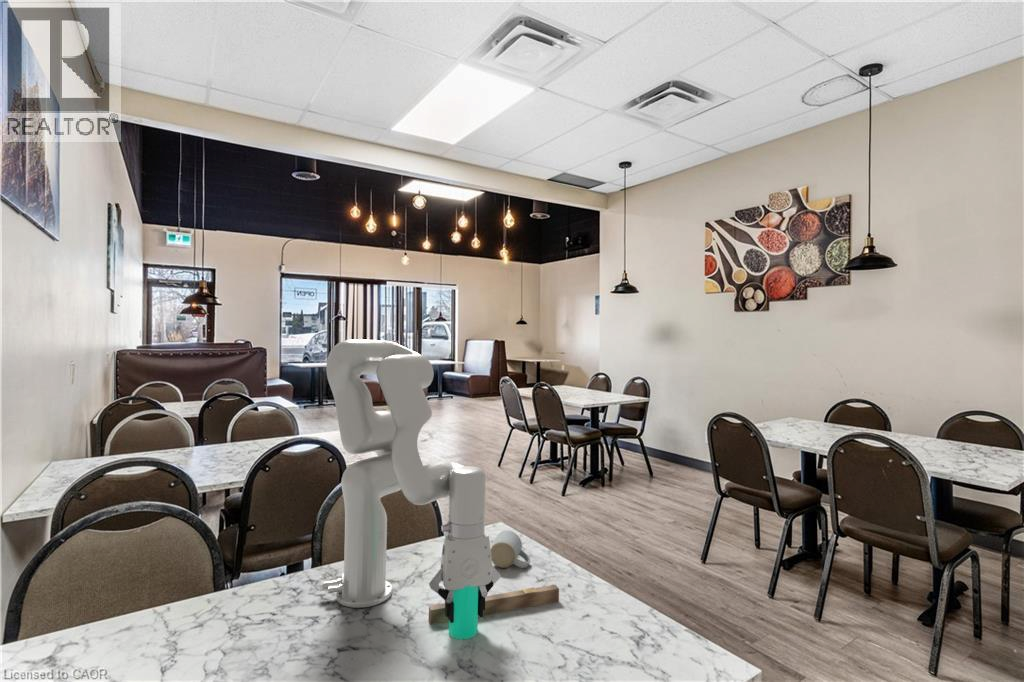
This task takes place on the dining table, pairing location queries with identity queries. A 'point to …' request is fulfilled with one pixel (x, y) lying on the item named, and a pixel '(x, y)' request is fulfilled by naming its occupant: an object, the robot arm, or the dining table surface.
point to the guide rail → (505, 602)
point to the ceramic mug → (508, 550)
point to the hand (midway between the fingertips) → (465, 615)
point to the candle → (465, 613)
